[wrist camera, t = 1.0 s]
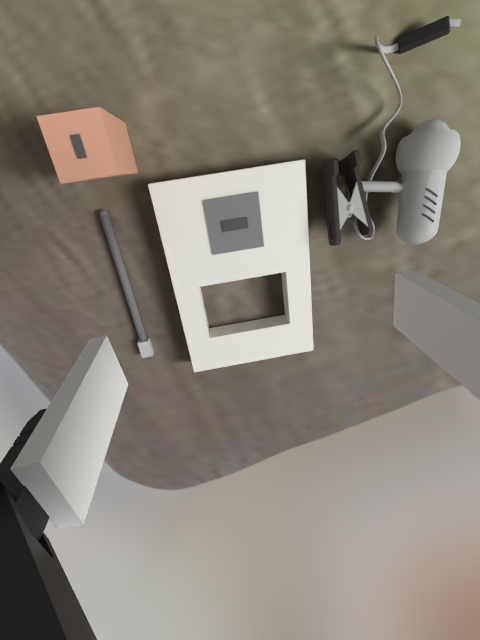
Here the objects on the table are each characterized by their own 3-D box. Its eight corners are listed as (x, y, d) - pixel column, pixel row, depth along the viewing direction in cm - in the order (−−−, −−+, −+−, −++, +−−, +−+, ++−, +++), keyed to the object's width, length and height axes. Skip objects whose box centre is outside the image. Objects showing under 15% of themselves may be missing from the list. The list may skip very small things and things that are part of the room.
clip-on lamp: (326, 45, 30) (314, 245, 33) (350, -9, 23) (332, 244, 27) (451, 48, 30) (425, 246, 34) (508, -4, 24) (468, 246, 28)
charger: (78, 129, 28) (35, 115, 20) (125, 122, 28) (98, 106, 20) (94, 179, 29) (59, 183, 22) (137, 173, 29) (118, 174, 22)
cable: (97, 210, 30) (94, 211, 30) (109, 208, 30) (107, 209, 30) (143, 353, 37) (142, 358, 37) (153, 352, 38) (152, 356, 37)
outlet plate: (151, 183, 30) (147, 184, 27) (297, 160, 31) (306, 159, 28) (194, 360, 39) (194, 374, 36) (307, 340, 39) (314, 351, 37)
